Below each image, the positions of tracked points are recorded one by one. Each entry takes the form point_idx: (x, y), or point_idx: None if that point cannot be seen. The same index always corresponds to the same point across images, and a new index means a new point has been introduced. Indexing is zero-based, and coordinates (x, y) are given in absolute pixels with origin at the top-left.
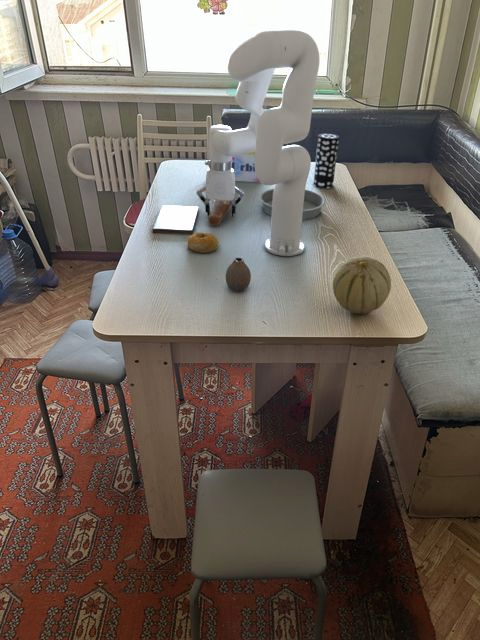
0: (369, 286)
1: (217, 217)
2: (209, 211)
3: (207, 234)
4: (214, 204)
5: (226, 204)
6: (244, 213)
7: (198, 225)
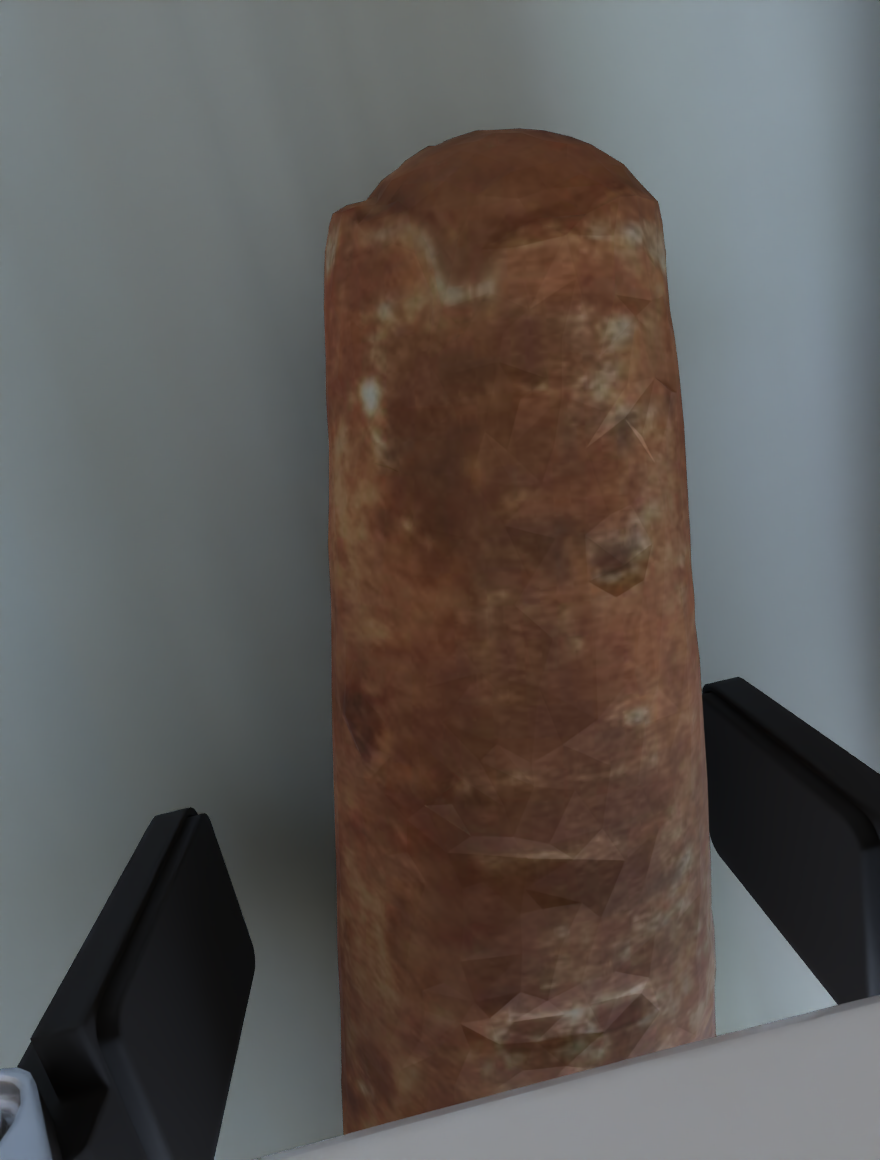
0: None
1: (395, 231)
2: (734, 806)
3: None
4: None
5: None
6: None
7: (809, 236)
